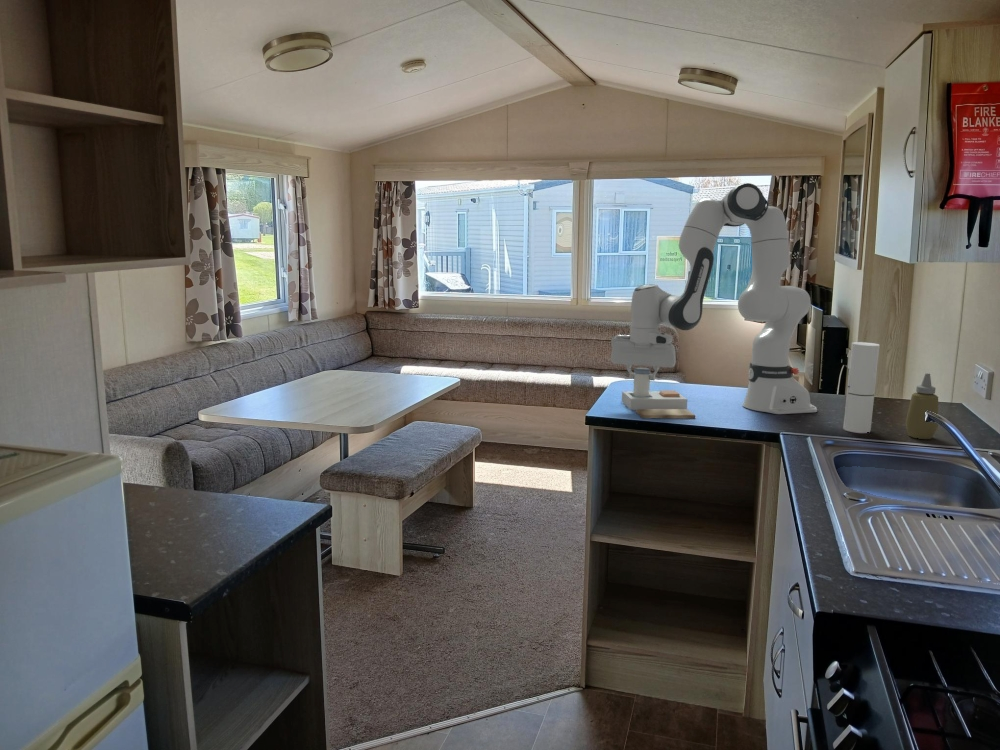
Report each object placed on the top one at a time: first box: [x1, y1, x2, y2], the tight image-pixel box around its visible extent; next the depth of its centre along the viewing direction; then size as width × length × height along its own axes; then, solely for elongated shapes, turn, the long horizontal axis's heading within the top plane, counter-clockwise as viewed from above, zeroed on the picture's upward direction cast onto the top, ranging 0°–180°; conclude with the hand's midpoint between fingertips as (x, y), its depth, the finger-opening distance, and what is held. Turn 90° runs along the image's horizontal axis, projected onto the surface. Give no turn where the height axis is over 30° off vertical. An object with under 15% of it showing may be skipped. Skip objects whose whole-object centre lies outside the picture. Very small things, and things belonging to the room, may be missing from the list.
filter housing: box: [621, 390, 688, 411], centre depth 248 cm, size 18×12×4 cm, turn 95°
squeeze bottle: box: [905, 372, 939, 440], centre depth 214 cm, size 8×8×18 cm
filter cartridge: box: [633, 367, 651, 397], centre depth 246 cm, size 5×5×10 cm
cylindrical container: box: [842, 341, 881, 434], centre depth 220 cm, size 7×7×25 cm
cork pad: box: [635, 408, 696, 419], centre depth 236 cm, size 16×8×1 cm, turn 95°
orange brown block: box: [659, 390, 681, 397], centre depth 248 cm, size 5×5×4 cm
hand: (642, 379), depth 246 cm, fingers closed on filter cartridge, 5 cm apart
